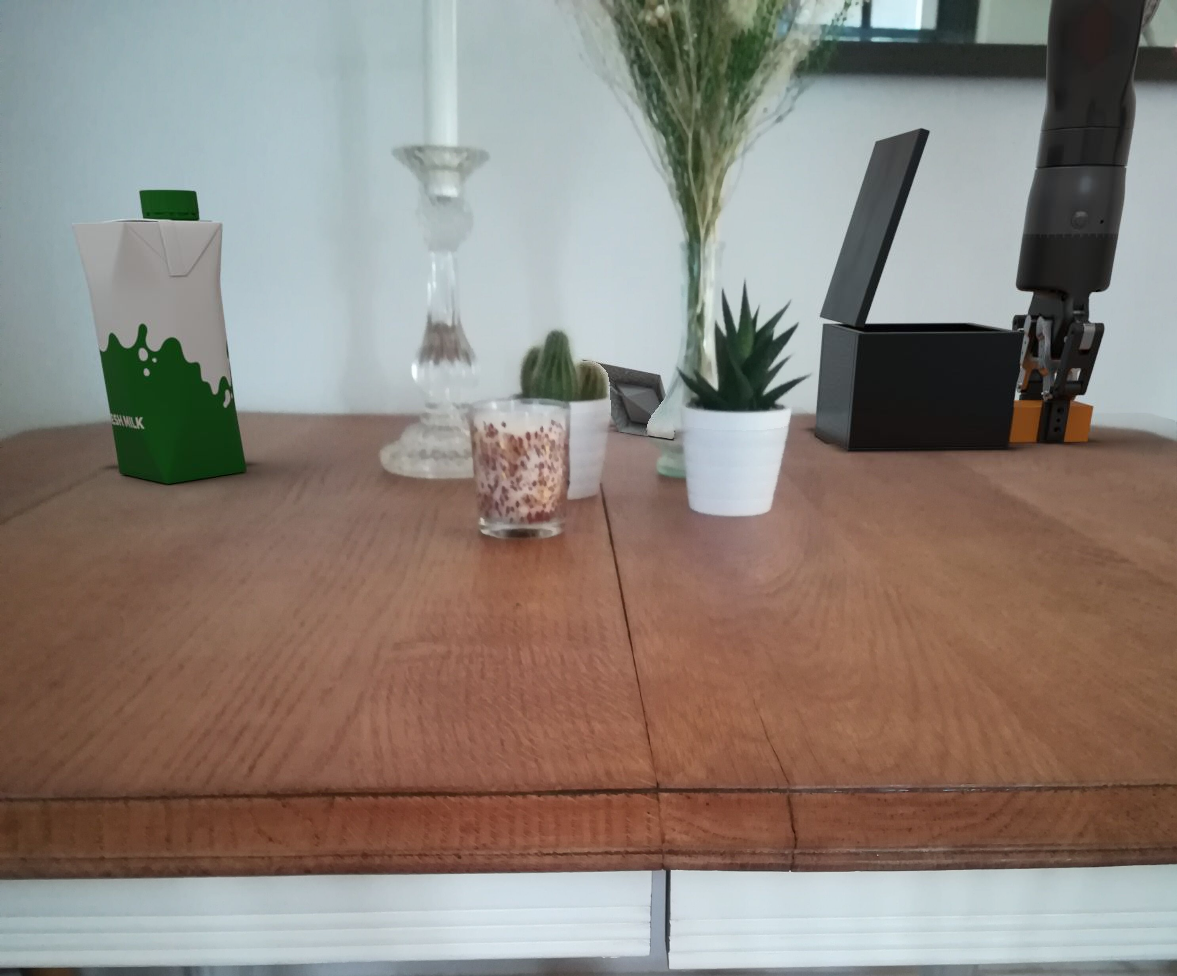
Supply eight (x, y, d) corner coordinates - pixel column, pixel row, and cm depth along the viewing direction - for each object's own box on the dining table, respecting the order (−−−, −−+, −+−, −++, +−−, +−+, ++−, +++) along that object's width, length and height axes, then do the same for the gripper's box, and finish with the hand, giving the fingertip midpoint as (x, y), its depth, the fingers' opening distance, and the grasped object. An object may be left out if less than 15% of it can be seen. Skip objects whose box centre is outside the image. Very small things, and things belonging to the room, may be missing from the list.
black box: (956, 434, 109) (971, 322, 105) (1006, 456, 98) (1024, 332, 94) (814, 435, 109) (822, 323, 105) (847, 458, 97) (858, 333, 93)
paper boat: (716, 418, 111) (687, 402, 102) (675, 474, 113) (643, 462, 105) (625, 344, 113) (590, 322, 105) (587, 399, 116) (549, 382, 107)
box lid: (884, 143, 99) (875, 141, 99) (930, 130, 87) (920, 127, 87) (827, 319, 105) (819, 317, 104) (863, 328, 93) (854, 326, 93)
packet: (1065, 439, 106) (1071, 399, 105) (1086, 447, 102) (1093, 406, 101) (989, 440, 106) (995, 400, 104) (1008, 448, 102) (1014, 406, 100)
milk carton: (263, 471, 92) (230, 190, 84) (160, 488, 86) (113, 185, 78) (201, 459, 98) (164, 193, 89) (100, 474, 91) (50, 189, 83)
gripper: (1156, 228, 90) (1115, 454, 98) (1078, 230, 103) (1046, 429, 110) (1062, 229, 90) (1027, 455, 97) (995, 230, 103) (968, 430, 110)
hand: (1037, 440), depth 104 cm, fingers closed on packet, 4 cm apart
